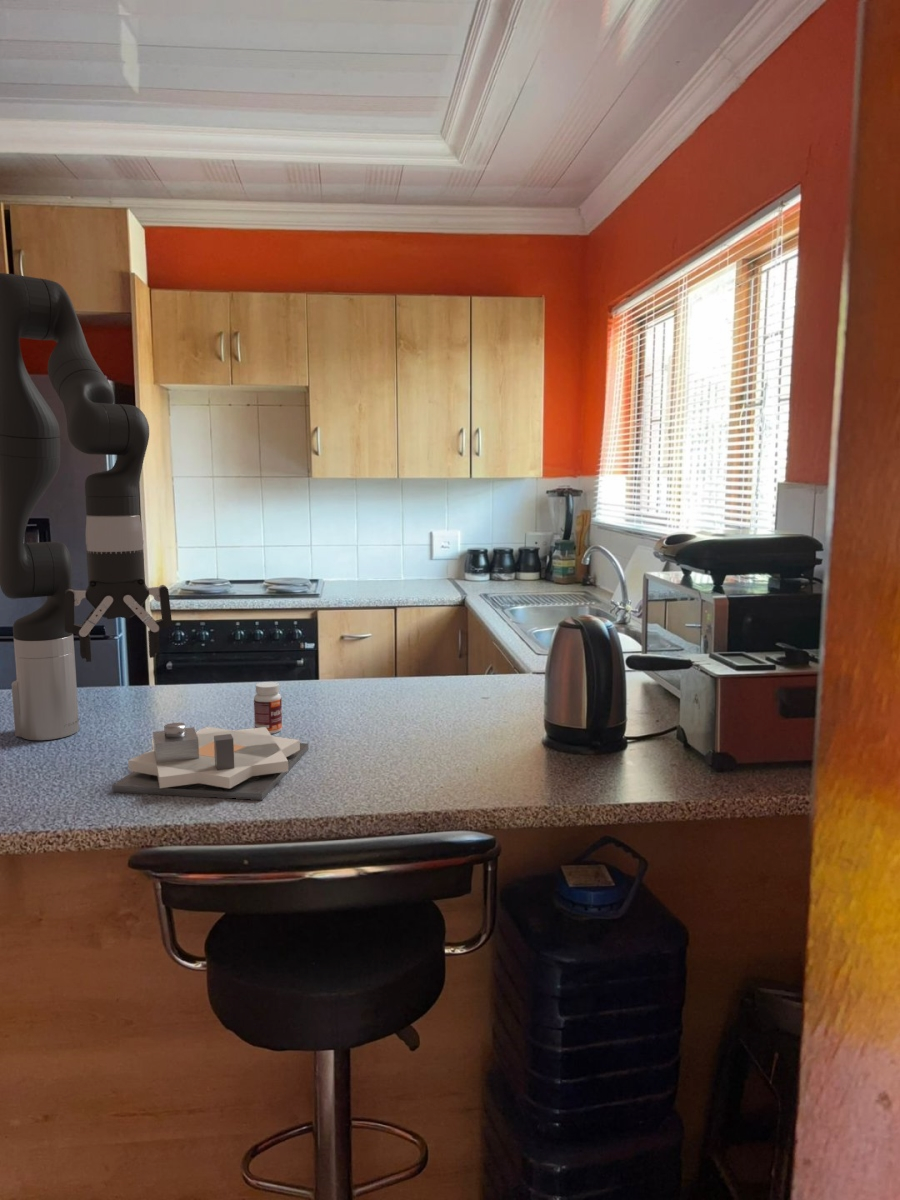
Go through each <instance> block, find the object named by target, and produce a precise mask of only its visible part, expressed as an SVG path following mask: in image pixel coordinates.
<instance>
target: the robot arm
mask: <svg viewBox="0 0 900 1200" xmlns="http://www.w3.org/2000/svg"><path fill="white" fill-rule="evenodd" d="M80 323H81V322H80V321H79V318H78V316H77V313H76V310H75V307H74V305H73V302H72V300H71V298H70V295H69V294H68V292H67V291H66V289H65V288H64V287H63V285H61V284H60V283H58V282H57V281H53V280H49V279H46V278H41V277H33V276H26V275H19V274H13V273H7V272H6V273H5V272H0V590H1V592H2V593H3V595H4V596H5V597H6V598H9V599H27V598H28V599H30V598H32V599H33V598H41V597H46V601H45V603H44V604H42V606H40V607H39V608H37V609H36V610H35V611H33V612H31V613H29V614H27V615H25V616H21V617H20V618H18V619H17V620H15V621H14V622H13V625H12V635H13V646H14V659H15V673H16V676H15V677H16V680H14V681H12V682H11V694H12V695H11V696H12V709H13V710H12V711H13V722H14V735H15V737H20V738H23V739H25V740H29V741H49V740H50V741H51V740H55V739H61V738H65V737H68V736H72V735H74V734H76V733H78V731H79V730H80V723H79V722H80V721H79V720H80V718H79V706H78V705H79V704H78V689H77V688H78V687H77V672H76V657H75V656H76V655H75V644H74V635H76V636H77V637H78V638H79V639H78V640H79V652H80V657H81V659H85V663H91V662H92V660H93V659H92V645H91V644H92V643H91V634H90V633H91V630H92V629H93V628H94V627H96V625H97V623H98V622H99V621H100V619H101V618H102V617H103V618H104V619H107V620H114V619H117V618H122V619H123V618H124V619H131V618H132V617H133V616H135V615H136V616H137V618H139V619H140V620H141V621H142V622H143V624H144V625H145V626H146V627H147V628H148V630H147V637H148V638H147V639H148V640H147V641H148V657H149V658H150V659H152V658H156V654H159V653H160V632H161V630H163V629H166V628H170V627H172V624H173V621H172V612H171V610H172V609H171V602H170V601H171V600H170V592H169V589H168V587H167V586H166V585H164V584H161V585H160V586H152V587H148V585H147V584H146V577H145V576H146V575H145V574H146V572H145V558H144V536H143V535H144V534H143V527H142V521H141V516H140V514H141V511H140V492H139V489H140V488H139V487H140V481H141V474H142V470H143V466H144V460H145V457H146V452H147V448H148V444H149V440H150V425H149V421H148V418H147V416H146V415H145V414H144V412H143V411H142V410H141V409H140V408H139V407H138V406H135V405H131V404H122V403H120V404H119V403H114V402H115V393H114V390H113V387H112V386H111V384H110V381H108V378H106V376H105V374H104V373H103V371H102V370H101V368H100V366H99V365H98V364H97V362H96V360H95V359H94V357H93V355H92V353H91V350H90V348H89V345H88V343H87V341H86V337H85V334H84V332H83V329H82V326H81V324H80ZM20 338H21V339H28V340H29V339H30V340H38V341H54V342H55V343H56V345H55V346H54V348H53V350H52V352H51V353H50V355H49V358H48V361H47V374H48V379H49V381H50V384H51V385H52V387H53V389H54V391H55V392H56V394H57V397H59V399H60V401H61V403H62V405H63V408H64V412H65V413H64V414H65V418H66V430H67V432H66V433H67V437H68V440H69V442H70V444H71V445H72V446H73V447H74V448H75V449H76V450H77V451H79V452H81V453H83V454H86V455H99V456H100V455H101V456H102V455H104V456H105V455H106V456H116V460H115V462H114V465H113V466H112V468H111V469H108V470H104V471H99V472H94V473H91V474H90V475H87V477H86V478H85V482H84V493H85V494H84V495H85V496H84V499H85V513H86V522H85V524H86V525H85V546H86V547H85V548H86V561H87V562H86V564H87V580H88V586H87V589H86V590H75V589H73V561H72V556H71V553H70V550H69V549H68V547H67V545H66V544H65V543H63V542H61V541H41V542H38V541H37V542H25V534H26V530H27V526H28V523H29V520H30V517H31V515H32V513H33V512H34V509H35V507H36V506H37V505H38V503H39V501H40V500H41V499H42V497H43V495H44V494H45V493H46V491H47V489H48V488H49V487H50V486H51V484H52V483H53V481H54V479H55V477H56V475H57V474H58V471H59V469H60V465H61V437H60V436H61V435H60V433H61V431H60V430H61V429H60V425H59V422H58V419H57V418H56V415H55V414H54V412H53V410H52V409H51V407H50V406H49V404H48V402H47V401H46V399H45V398H44V397H43V395H42V394H41V393H40V391H39V389H38V388H37V386H36V385H35V383H34V381H33V380H32V378H31V376H30V374H29V372H28V370H27V368H26V365H25V362H24V358H23V354H22V350H21V343H20ZM149 596H151V597H153V599H154V601H156V602H157V603H158V602H159V605H160V606H159V607H160V616H161V618H159V619H157V620H155V619H154V618H153V617H152V616H151V614H150V613H149V611H147V610H146V608H144V607H143V605H144V603H145V602H146V600H147V599H148V598H149ZM83 599H86V600H87V601H88V602H89V604H90V605H91V606H92V607H93V609H92V610H91V611H90V613H89V614H88V616H87V617H86V619H85V620H84V621H83V623H82V624H78V623H75V618H76V617H75V615H76V614H75V607H77V606H80V605H81V602H82V600H83Z"/></svg>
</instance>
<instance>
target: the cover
mask: <svg viewBox="0 0 900 1200" xmlns="http://www.w3.org/2000/svg"><path fill="white" fill-rule="evenodd" d="M163 729H164V730H159V731H153V732H152V739H153V743H154V754H155V759H156V764H157V763H165V762H173V761H181V760H189V759H197V758H199V744H198V737H197V734H196V729H195V727H186V724H185V722H184V723H183V722H171V723H167V724H164V726H163Z"/></svg>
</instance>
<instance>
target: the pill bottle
mask: <svg viewBox="0 0 900 1200" xmlns="http://www.w3.org/2000/svg"><path fill="white" fill-rule="evenodd" d="M279 692H280V683H278V682H276V681H265V682H264V681H262V682H258V683H256V684H255V693H256V694H255V695H254V697H253V710H254V711H253V713H254V717H253V718H254V728H261V727H266V728H267V730H268V731H269V733H270V734H271V735H272V734H277V733H280V732H281V731H282V730H283V720H282V719H283V716H282V715H283V714H282V713H283V711H282V705H283V704H282V701H283V700H282V696H281V694H280V693H279Z"/></svg>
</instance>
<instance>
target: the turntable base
mask: <svg viewBox="0 0 900 1200" xmlns="http://www.w3.org/2000/svg"><path fill="white" fill-rule="evenodd" d="M307 752H309V743H302V742H300V750H299V751H297V752H295V753H293V754H291V755H290V756H288V757H286V758H287V760H288V772H280V773H272V774H265V775H257V776H252V777H250V778H248V779H246V780H244V781H243V782H241V783H239V784H237V785H235V786H233V787H232V788H230V789H229V788H224V787H218V786H212V785H207V784H201V783H196V784H189V785H181V786H173V787H166V788H160V787H159V782H158V777H157V776H156V775H151V774H145V773H139V772H134V771H130V773H128V774H127V775H126V776H124V777H123V778H121V779H120V780H118V781H117V782H116V783H114V784H112V791H113V793H121V794H122V793H125V794H137V795H138V794H139V795H143V794H144V795H156V794H157V795H158V796H173V795H174V796H175V795H176V797H177V796H178V797H190V796H191V797H192V798H208V797H217V798H216V799H225V798H236V799H235V800H243V799H253V800H252V801H261V800H262V801H264V799H265V798H266V797H267V796H268V795H269V794H270V792H272V791H273V789H275V787H276V786H277V785H278V784H279V783H280V782H281V781H282V779H283V778H284V777H285V776H286V775H287V774H288V773H289V772H290V770H291V769H293V767H294V766H295V765H296V764H297V763H298V761H300V759H301V758H302V757H303V756H304V755H305V754H306V753H307ZM278 782H279V783H278ZM277 783H278V784H277ZM276 784H277V785H276ZM275 785H276V786H275ZM268 793H269V794H268ZM267 794H268V795H267ZM157 795H156V796H157ZM266 795H267V796H266ZM265 796H266V797H265ZM264 797H265V798H264Z"/></svg>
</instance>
